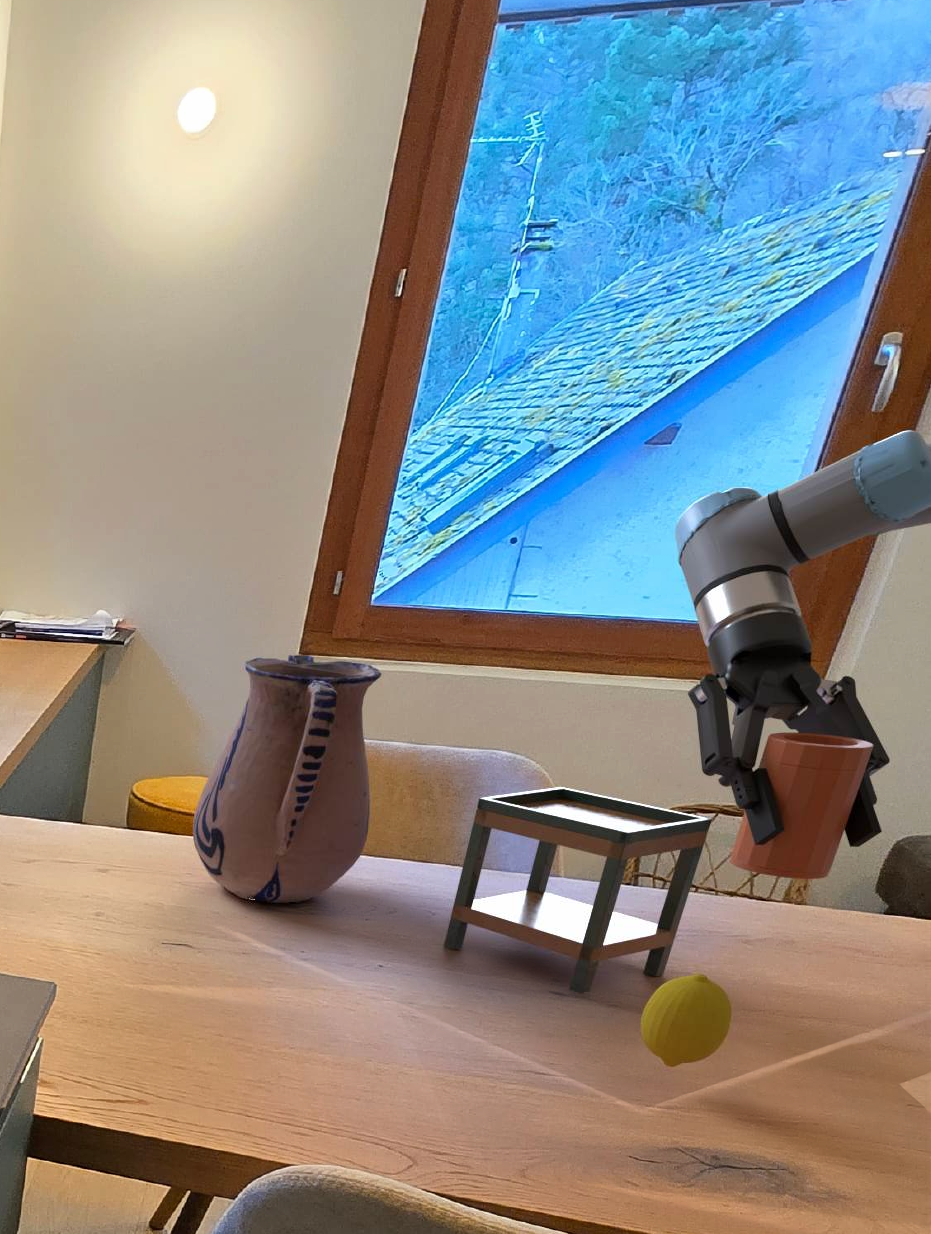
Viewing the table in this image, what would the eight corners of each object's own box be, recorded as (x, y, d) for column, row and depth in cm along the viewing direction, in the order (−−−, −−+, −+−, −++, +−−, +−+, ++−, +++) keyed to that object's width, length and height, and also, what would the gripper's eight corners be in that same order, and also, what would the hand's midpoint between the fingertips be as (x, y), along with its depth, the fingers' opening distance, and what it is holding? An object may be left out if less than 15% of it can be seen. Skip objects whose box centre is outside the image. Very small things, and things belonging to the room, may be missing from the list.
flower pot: (845, 873, 122) (891, 743, 117) (799, 883, 119) (844, 750, 114) (758, 854, 128) (798, 730, 123) (712, 862, 125) (751, 736, 120)
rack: (663, 974, 124) (712, 819, 118) (581, 994, 119) (628, 832, 113) (522, 930, 135) (560, 786, 129) (443, 946, 131) (478, 798, 125)
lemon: (641, 1077, 103) (672, 984, 99) (618, 1047, 108) (648, 957, 104) (723, 1086, 101) (758, 992, 98) (697, 1055, 106) (729, 964, 103)
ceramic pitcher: (322, 866, 154) (366, 648, 143) (389, 934, 135) (446, 688, 124) (168, 863, 156) (201, 648, 145) (213, 929, 137) (254, 687, 126)
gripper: (835, 659, 130) (903, 861, 121) (620, 656, 131) (673, 856, 123) (895, 608, 123) (972, 819, 114) (667, 606, 125) (727, 814, 116)
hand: (817, 838), depth 119 cm, fingers closed on flower pot, 7 cm apart
